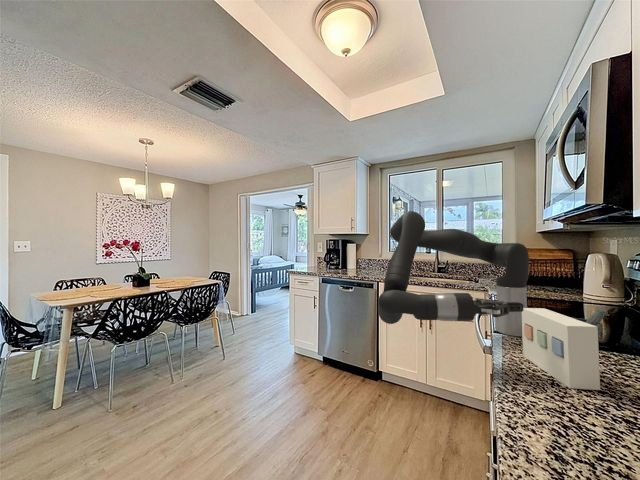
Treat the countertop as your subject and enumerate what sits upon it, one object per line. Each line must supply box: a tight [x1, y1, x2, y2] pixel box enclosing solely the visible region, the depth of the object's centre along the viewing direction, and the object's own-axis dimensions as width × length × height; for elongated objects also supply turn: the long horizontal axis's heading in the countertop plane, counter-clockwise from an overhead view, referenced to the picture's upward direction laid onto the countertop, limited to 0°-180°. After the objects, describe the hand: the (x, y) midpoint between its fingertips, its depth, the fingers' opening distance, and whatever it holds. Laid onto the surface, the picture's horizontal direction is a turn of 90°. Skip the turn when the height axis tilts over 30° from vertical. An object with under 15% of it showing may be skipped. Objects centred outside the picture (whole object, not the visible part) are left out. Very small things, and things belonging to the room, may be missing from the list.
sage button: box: [537, 331, 547, 347], centre depth 73 cm, size 2×3×3 cm, turn 171°
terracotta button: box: [524, 325, 533, 340], centre depth 79 cm, size 2×3×3 cm, turn 171°
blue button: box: [551, 338, 564, 356], centre depth 67 cm, size 2×3×3 cm, turn 170°
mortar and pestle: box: [573, 307, 609, 338], centre depth 92 cm, size 11×9×12 cm
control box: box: [521, 307, 601, 391], centre depth 72 cm, size 6×19×14 cm, turn 171°
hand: (521, 306), depth 74 cm, fingers closed
